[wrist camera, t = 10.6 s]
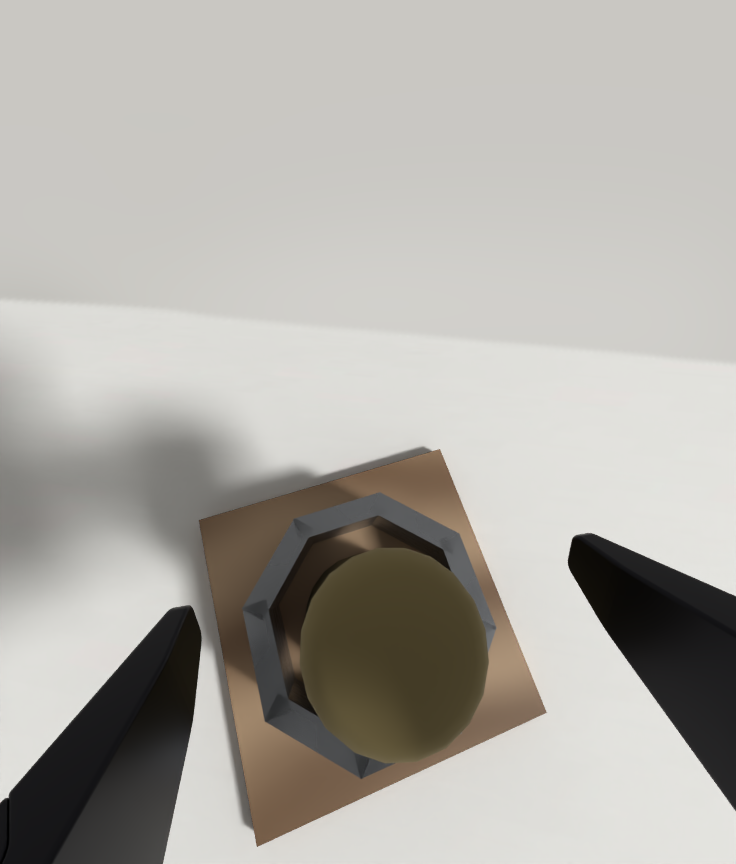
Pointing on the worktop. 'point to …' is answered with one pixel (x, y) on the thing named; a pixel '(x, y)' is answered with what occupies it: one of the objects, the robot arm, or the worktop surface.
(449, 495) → the walnut plate
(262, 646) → the metal collar
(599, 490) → the worktop surface
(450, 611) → the cork
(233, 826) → the worktop surface
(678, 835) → the worktop surface
